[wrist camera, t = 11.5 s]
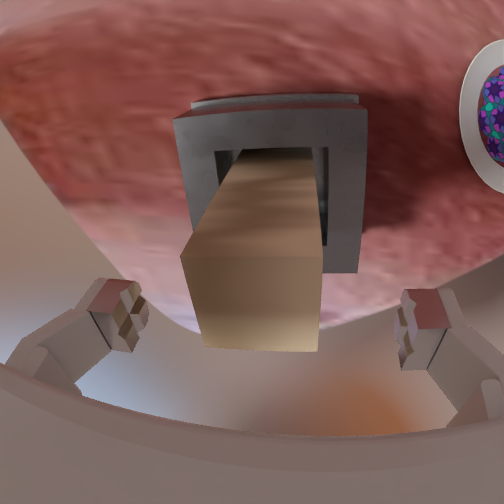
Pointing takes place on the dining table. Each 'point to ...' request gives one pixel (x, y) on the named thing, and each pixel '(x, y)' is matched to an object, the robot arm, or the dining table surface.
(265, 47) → the dining table surface
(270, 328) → the wooden peg
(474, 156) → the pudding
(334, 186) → the socket holder
